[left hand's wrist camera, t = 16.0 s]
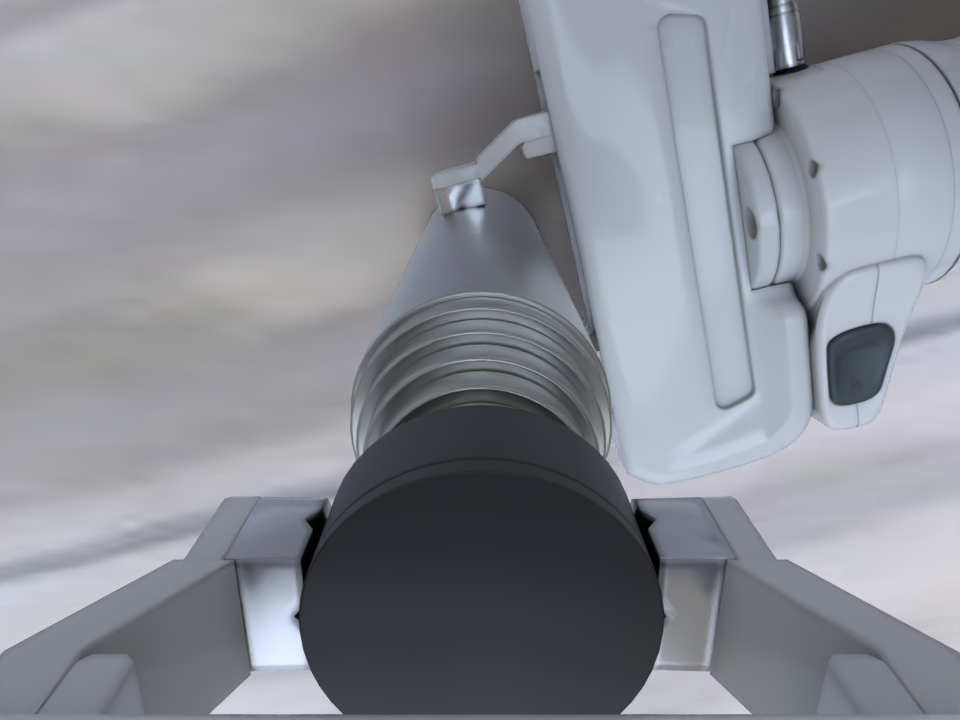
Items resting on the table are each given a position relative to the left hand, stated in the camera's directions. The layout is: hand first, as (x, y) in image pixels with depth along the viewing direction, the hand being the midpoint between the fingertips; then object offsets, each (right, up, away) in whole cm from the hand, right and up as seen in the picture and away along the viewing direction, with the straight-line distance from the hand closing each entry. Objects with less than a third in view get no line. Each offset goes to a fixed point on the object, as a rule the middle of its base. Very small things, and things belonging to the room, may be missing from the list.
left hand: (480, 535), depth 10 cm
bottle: (0, +8, +22) cm, 23 cm away
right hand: (-1, +6, +16) cm, 17 cm away
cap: (0, -1, -2) cm, 2 cm away
